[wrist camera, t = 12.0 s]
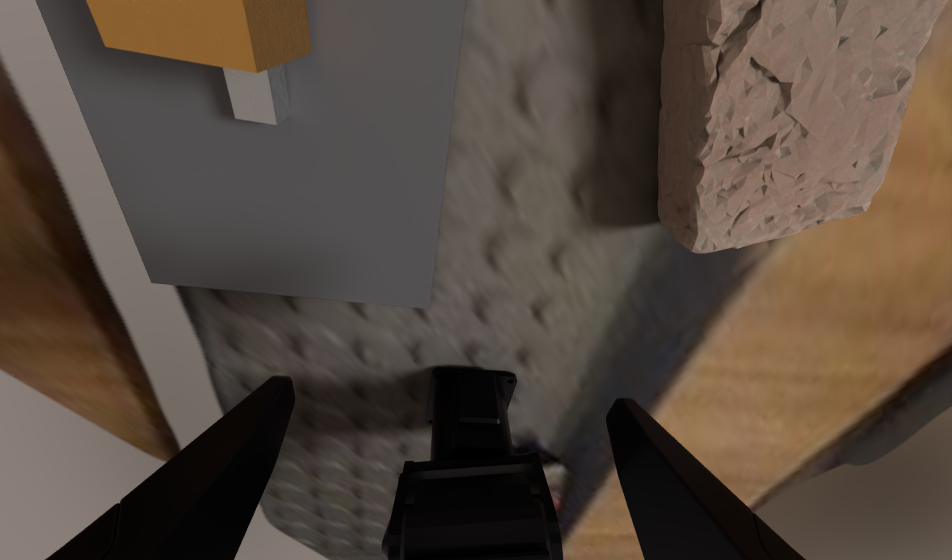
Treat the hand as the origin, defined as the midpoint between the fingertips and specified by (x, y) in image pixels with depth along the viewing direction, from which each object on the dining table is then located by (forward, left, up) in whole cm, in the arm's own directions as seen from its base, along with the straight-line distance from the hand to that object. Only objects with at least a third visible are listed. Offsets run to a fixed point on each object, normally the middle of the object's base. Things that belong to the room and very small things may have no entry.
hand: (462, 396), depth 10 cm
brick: (+10, -12, -13) cm, 20 cm away
